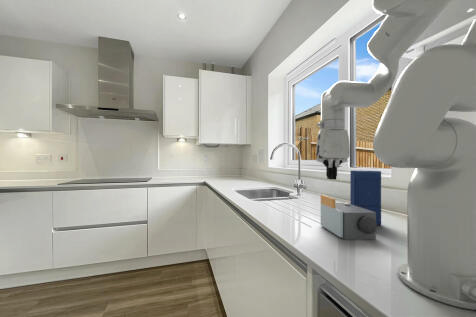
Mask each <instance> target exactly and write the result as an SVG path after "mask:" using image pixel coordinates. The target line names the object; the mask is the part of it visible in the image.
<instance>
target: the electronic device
mask: <svg viewBox="0 0 476 317" xmlns="http://www.w3.org/2000/svg"><path fill="white" fill-rule="evenodd" d="M349 181H350V182H349V183H350V188H349V190H350V191H349V192H350V199H349V200H350V204H352V205H355V206H358V207H361V208H364V209H367V210H370V211H373V212H376V223H377V226H381V225H382V171H381V170H350V180H349Z"/></svg>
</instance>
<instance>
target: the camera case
mask: <svg viewBox="0 0 476 317" xmlns="http://www.w3.org/2000/svg"><path fill="white" fill-rule="evenodd" d="M335 208H336V209H338V210H341V211H343V237H340V238H342V240H346V241H347V240H376V239H377V229H378V228H377V227H378V225H377V223H376V212H373V211H370V210H367V209H364V208H361V207H358V206H355V205H352V204H350V203H349V202H335Z"/></svg>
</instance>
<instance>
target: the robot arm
mask: <svg viewBox="0 0 476 317" xmlns="http://www.w3.org/2000/svg"><path fill="white" fill-rule="evenodd" d="M451 2H452V0H372V2H371V3H372V4H371V5H372V6H371V7H372V9H373V10H374V12H375V13H377V14H378V15H379V14H380V15H383V16H385V18H384V19H383V21H382V22H381V24H380V25H379V27H378V28H377V29H376V31H374V33H373V34H372V36H371V37H370V39H369V41H368V42H367V46H366V47H367V48H366V49H367V51H368V54H369V55H370V56H371V57H373V58H374V59H375V61H377V62H379V68H378V70H377V71H376V72H375V74H374V75H373V76H372V78H371V79H370V80H369V81H368V82H362V81H349V80H339V81H336V83H334V84H333V85H332V86H331V87H330V88H329V89H327V90H324V92H323V93H322V94H321V96H320V97H321V98H320V99H321V102H320V103H321V105H320V111H321V112H320V122H318V123H317V125H316V126H317V127H319V129H320V130H319V131H318V134H317V140H316V150H315V153H316V154H315V156H316V162H318V163H321V164H323V165H324V167H325V168H326V169H325V170H326V179H327V180H337V176H338V168H339V167H340V165H342V164H344V163H346V162H348V159H349V158H350V156H351V154H350V153H351V148H350V147H351V146H350V137H349V133H348V129H345V128H346V126H345V124H346V108H361V109H364V108H369V107H371V106H373V105H374V104H376V103H377V102H378V101H379V100H380V99H381V98H382V97H384V95H386V94H387V92H388V91H389V90H390V89H391V87H392V86H393V84H394V83H395V85H394V87H393V90H392V92H391V94H390V97H389V99H388V101H387V103H386V106H385V108H384V110H383V113H382V115H381V118H380V120H379V123H378V125H377V127H376V130H375V133H374V136H373V140H372V141H373V143H372V148H373V152H374V155H375V158H376V159H377V160H378V161H379V162H381V163H382V164H383V165H385V166H388V167H392V168H397V169H414V170H413V171H412V172H413V173H412V174H411V177H410V179H409V181H408V186H407V196H406V197H407V199H406V202H407V205H406V206H407V207H406V208H407V210H406V211H407V214H406V215H407V219H406V220H407V221H406V222H407V223H406V224H407V225H406V226H407V228H406V229H407V230H406V231H407V235H406V237H407V244H406V247H407V263H404V264H401V265H398V267H397V276H398V278H399V279H400V280H401V281H402V282H403V283H404V284H405V285H407V286H408V287H409V288H411V289H412V290H414V291H416V292H417V293H420V294H422V295H423V296H426V297H428V298H430V299H432V300H436V301H438V302H440V303H444V304H446V305H449V306H453V307H458V308H461V309H467V310H473V311H475V310H476V124H474V123H473V122H471V121H469V120H465V119H461V118H456V117H446V115H447V114H448V112H458V113H459V112H460V113H467V112H468V113H470V112H474V113H475V112H476V17H475V18H474V20H473V21H472V23H471V25H470V27H469V29H468V31H467V33H466V35H465V36H464V38H463V40H462V42H461V44H457V43H450V44H449V43H448V44H440V45H437V46H434V47H431V48H429V49H426V50H425V51H423V52H421V53H419V55H417V56H416V57H415V58H413V60H411V61H410V62H409V64H407V66H406V67H405V68H404V70H403V71H402V72H401V74H400V75H399V77H398V79H397V81H396V82H395V80H396V78H397V75H398V71H399V66H400V59H401V58H402V57H403V56H404V54H405V53H406V52H407V51H408V50H409V49H410V48H411V46H413V44H414V43H415V42H416V41H417V40H418V39H419V38H420V36H421V35H422V34H423V33H424V32H425V31H426V30H427V29H428V28H429V27H430V26H431V24H432V23H434V21H435V20H436V19H437V18H438V17H439V15H441V13H442V12H444V10H445V9H446V8H447V7H448V5H449V4H450V3H451Z"/></svg>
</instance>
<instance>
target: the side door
mask: <svg viewBox="0 0 476 317" xmlns="http://www.w3.org/2000/svg"><path fill="white" fill-rule="evenodd" d="M335 203H336V198H334V197H330V196H327V195H325V194H320V226H322V227H323V228H325V229H327V231H329V232H331V233H333V234H334V235H336V236H338V237H339V238H341V237H343V211H341V210H338V209H336V208H335Z"/></svg>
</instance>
